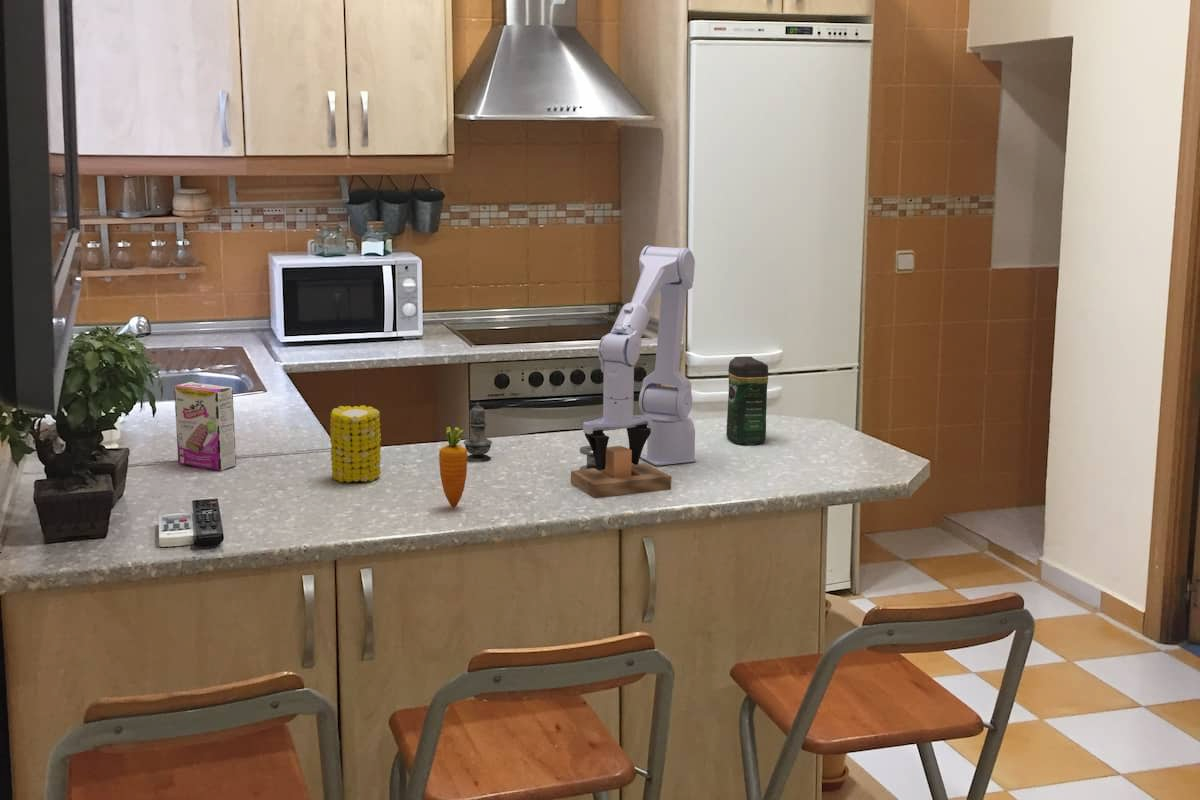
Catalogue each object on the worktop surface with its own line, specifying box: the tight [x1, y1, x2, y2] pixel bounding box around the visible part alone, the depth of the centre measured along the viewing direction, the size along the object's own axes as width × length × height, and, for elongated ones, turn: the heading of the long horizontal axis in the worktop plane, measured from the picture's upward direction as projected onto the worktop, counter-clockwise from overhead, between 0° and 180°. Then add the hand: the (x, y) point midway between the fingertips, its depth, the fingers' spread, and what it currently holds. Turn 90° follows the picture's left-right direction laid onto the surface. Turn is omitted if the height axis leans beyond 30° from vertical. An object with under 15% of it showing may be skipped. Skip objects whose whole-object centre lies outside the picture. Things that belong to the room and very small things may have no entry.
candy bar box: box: [173, 381, 237, 472], centre depth 261 cm, size 11×5×16 cm, turn 65°
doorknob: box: [579, 445, 603, 473], centre depth 262 cm, size 6×6×5 cm
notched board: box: [570, 462, 672, 499], centre depth 251 cm, size 16×11×2 cm
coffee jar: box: [725, 356, 769, 446], centre depth 288 cm, size 10×8×19 cm
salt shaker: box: [463, 401, 493, 463], centre depth 270 cm, size 6×6×12 cm
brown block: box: [603, 445, 632, 478], centre depth 252 cm, size 4×4×7 cm
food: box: [329, 405, 382, 483], centre depth 253 cm, size 15×12×10 cm
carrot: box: [438, 426, 468, 509], centre depth 234 cm, size 5×5×15 cm
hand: (617, 466), depth 252 cm, fingers open, 7 cm apart
